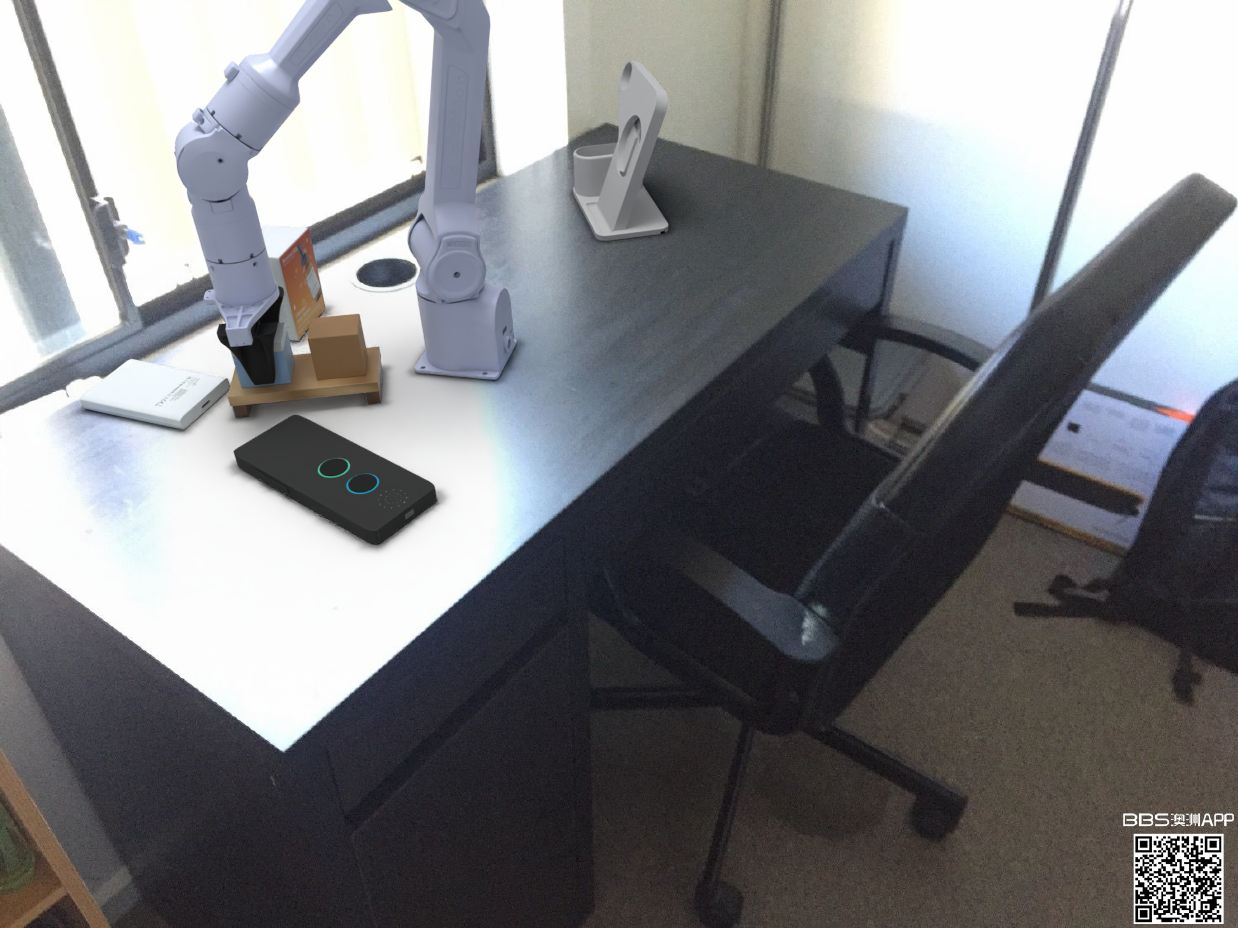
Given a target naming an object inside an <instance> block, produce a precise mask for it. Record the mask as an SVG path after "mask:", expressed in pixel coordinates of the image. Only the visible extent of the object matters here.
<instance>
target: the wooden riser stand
mask: <svg viewBox="0 0 1238 928" xmlns="http://www.w3.org/2000/svg"><path fill="white" fill-rule="evenodd" d="M366 349H367V369H366V375H364V376H354V377H344V378H333V379H323V380H317V377H316V373H315V369H314V365H313V361H312V356H311V352H309V353H300V354H299V353H298V354H293V356H294V360H295V362H294V368H293V374H292V380H291V383H286V384H276V385H266V386H256V387H246V388H241V385H240V381H239V378H238V375H237V371H236V368H235V367H234V370H233V373H232V378H231V382H230V388H229V389H228V393H227V399H228V403H229V407H232V411H233V414H234V417H235V418H236V419H240V418H246V417H247V418H248V417H250V415H251V410H252V406H253V405H256V404H257V405H258V404H268V403H275V402H276V403H278V402H287V401H296V400H307V399H316V398H327V397H336V396H345V395H347V396H348V395H356V394H365V395H364V396H365V400H366V404H367V405H376V404H382V392H383V391H382V389H383V370H384V369H383V365H382V354H381V347H380V346H371V347H366Z"/></svg>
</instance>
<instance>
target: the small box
mask: <svg viewBox="0 0 1238 928" xmlns="http://www.w3.org/2000/svg"><path fill="white" fill-rule="evenodd" d="M261 230H262V234H263V238H264V242H265V246H266V250H267V254H268V257H269V261H270V265H271V269H272V273H273V277H274V280H275V281H276V283H277V285H278V286H280V287H282V288H283V289H284V297H283V301H282V304H281V307H280V319H279V323H284V322H285V324H286V328H287V333H288V337H289V341H299V340H301V338H302V337H303V335H304V334H305V333H306V331H307V330H309V325H310V319H311V318H318V317H320V315H322V314H323V312H325V310H326V308H327V306H326V301H325V298H324V293H323V287H322V283H321V278H320V274H319V270H318V265H317V260H316V255H315V251H314V246H313V242H312V241H313V240H312V236H311V231H310V228H309V227H304V226H303V227H302V226H289V225H277V224H264V225H263V226H261Z"/></svg>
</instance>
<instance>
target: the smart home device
mask: <svg viewBox="0 0 1238 928" xmlns="http://www.w3.org/2000/svg"><path fill="white" fill-rule="evenodd" d="M233 455H234V458H235V462H236V464H237V467H238V468H239V469H240V470H242V471H243V472H244V473H247V474H248V475H251V476H252V477H254V478H255V479H258V480H260V481H261V482H263V483H264V484H266V485H268V486H270V487H271V488H273V489H274V490H277V491H278V492H280V493H282V494H284V495H286V496H287V497H289V498H291V499H292V500H293V501H296V502H298V503H299V504H301V505H303V506H304V507H306V508H308V509H310V510H312V511H313V512H315V513H317V514H319V515H320V516H322V517H324V518H325V519H327V520H329V521H331V522H333V523H334V524H335V525H338V526H339V527H341V528H343V529H345V530H347V531H348V532H350V533H351V534H353V535H355V536H356V537H359V538H360V539H362V540H364V541H366V542H367V543H370V544H373V545H380V544H381V543H383V542H384V541H386V539H388V538H390V537H391V536H392V535H393V534H395V533H396V532H397V531H399V530H400V529H402V528H403V527H404V526H405V525H407V524H408V523H410V522H411V521H413V520H414V519H415V518H416V517H417V516H419V515H421V514H422V513H424V511H425V510H427V509H428V508H430V507H431V506H433V505H434V504H435V503H437V501H438V497H437V491H436V486H435V484H434V483H433V482H431V481H430V480H428V479H426V478H424V477H422V476H420V475H418V474H417V473H414V472H412V471H410V470H409V469H406V468H405V467H403V466H401V465H399V464H396V463H395V462H393V461H391V460H389V459H387V458H385V457H383V456H381V455H379V454H377V453H375V452H373V451H372V450H369V449H367V448H365V447H363V446H361V445H360V444H357V443H356V442H354V441H351V439H348V438H346V437H344V436H342V435H341V434H338V433H337V432H335V431H333V430H331V429H329V428H326V427H324V426H322V425H321V424H318V423H317V422H315V421H313V420H311V419H309V418H307V417H305V416H303V415H300V414H292V415H290V416H288V417H287V418H284V419H283V420H281V421H280V422H278V423H277V424H275V425H273V426H271V427H270V428H268V429H266V430H265V431H263V432H261V433H259V434H258V435H256V436H255V437H253V438H252V439H250V440H248V441H247V442H245V443H243V444H242V445H240V446H238V447H236V448H235V449H233Z"/></svg>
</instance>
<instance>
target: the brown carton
mask: <svg viewBox="0 0 1238 928" xmlns="http://www.w3.org/2000/svg"><path fill="white" fill-rule="evenodd" d="M307 332H308V333H307V344H308V348H309V353H311V356H312V361H313V365H314V369H315V373H316V377H317V380H323V379H333V378H344V377H354V376H364V375H366V369H367V349H366V348H367V345H366V340H365V334H364V329H363V325H362V319H361V314H360V313H351V314H340V315H339V314H338V315H331V316H330V315H329V316H328V315H327V316H318V318H311V319H310V325H309V328H308V331H307Z"/></svg>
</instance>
